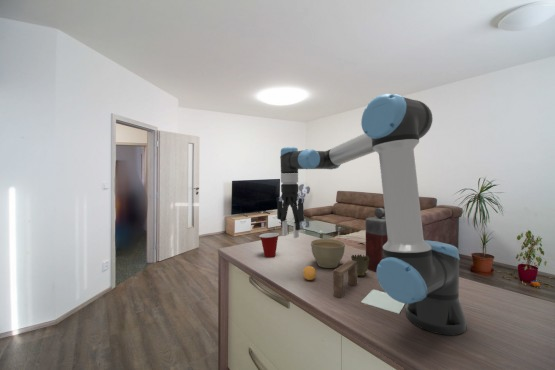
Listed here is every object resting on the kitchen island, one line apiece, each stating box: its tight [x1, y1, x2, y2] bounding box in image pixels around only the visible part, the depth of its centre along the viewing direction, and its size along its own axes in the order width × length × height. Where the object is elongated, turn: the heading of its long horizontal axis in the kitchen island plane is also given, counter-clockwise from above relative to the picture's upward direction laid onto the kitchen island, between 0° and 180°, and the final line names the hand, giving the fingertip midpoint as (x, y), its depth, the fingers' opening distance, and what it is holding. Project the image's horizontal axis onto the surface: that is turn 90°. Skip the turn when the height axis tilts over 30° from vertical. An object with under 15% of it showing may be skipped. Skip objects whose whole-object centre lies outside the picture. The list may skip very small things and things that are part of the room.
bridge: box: [332, 259, 358, 299], centre depth 96 cm, size 3×14×9 cm, turn 141°
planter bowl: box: [310, 238, 346, 269], centre depth 123 cm, size 16×16×11 cm
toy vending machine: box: [365, 207, 388, 273], centre depth 116 cm, size 9×11×28 cm
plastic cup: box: [259, 232, 280, 259], centre depth 138 cm, size 11×11×12 cm
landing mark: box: [360, 289, 406, 315], centre depth 87 cm, size 12×12×1 cm
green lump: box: [350, 254, 369, 277], centre depth 110 cm, size 8×7×8 cm
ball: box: [302, 265, 317, 281], centre depth 106 cm, size 6×6×6 cm
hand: (290, 236), depth 111 cm, fingers open, 5 cm apart
